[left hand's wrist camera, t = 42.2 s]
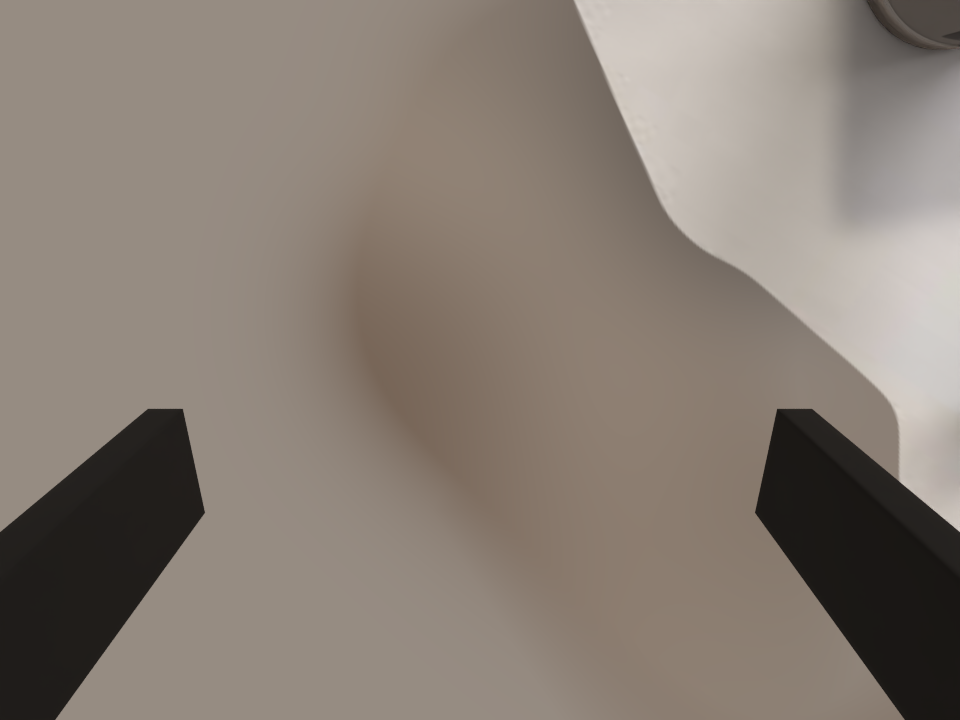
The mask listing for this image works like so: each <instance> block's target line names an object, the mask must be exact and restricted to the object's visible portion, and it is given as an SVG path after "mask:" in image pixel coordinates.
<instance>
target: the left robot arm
mask: <svg viewBox="0 0 960 720" xmlns="http://www.w3.org/2000/svg"><path fill="white" fill-rule="evenodd" d="M867 1H868V3H869V5H870V7H871V9H872V11H873V12H874V14H875V15H876V17H877V18H878V20H879V21H880V22H881V23H882V24H883V26H884V27H885V28H887V29H888V30H889V31H890V32H891V33H892V34H894V35H895V36H896V37H898V38H899V39H901V40H903V41H905V42H907V43H909V44H912V45H915V46H918V47H922V48H927V49H935V50H947V49H956V48H960V0H867ZM957 50H958V49H957ZM204 513H205V511H204V506H203V502H202V497H201V492H200V488H199V483H198V478H197V474H196V469H195V464H194V459H193V455H192V450H191V445H190V441H189V436H188V431H187V427H186V422H185V418H184V413H183V409H147V410H146V411H145V412H144V413H143V414H141V415H140V416H139V417H138V418H137V419H135V420H134V421H133V422H132V423H131V424H129V425H128V426H127V427H126V428H125V429H123V430H122V431H121V432H120V433H119V434H117V435H116V436H115V437H114V438H113V439H111V440H110V441H109V442H108V443H107V444H105V445H104V446H103V447H102V448H101V449H99V450H98V451H97V452H96V453H95V454H94V455H92V456H91V457H90V458H89V459H87V460H86V461H85V462H84V463H83V464H81V465H80V466H79V467H78V468H77V469H75V470H74V471H73V472H72V473H71V474H69V475H68V476H67V477H66V478H65V479H63V480H62V481H61V482H60V483H59V484H57V485H56V486H55V487H54V488H53V489H51V490H50V491H49V492H48V493H47V494H45V495H44V496H43V497H42V498H41V499H39V500H38V501H37V502H36V503H35V504H33V505H32V506H31V507H30V508H29V509H27V510H26V511H25V512H24V513H23V514H21V515H20V516H19V517H18V518H17V519H15V520H14V521H13V522H12V523H11V524H9V525H8V526H7V527H6V528H5V529H3V530H2V531H1V532H0V720H55V719H56V718H57V717H58V715H59V714H60V712H61V711H62V710H63V708H64V707H65V705H66V704H67V703H68V701H69V700H70V699H71V697H72V696H73V694H74V693H75V692H76V690H77V689H78V687H79V686H80V685H81V683H82V682H83V681H84V679H85V678H86V676H87V675H88V674H89V672H90V671H91V669H92V668H93V667H94V665H95V664H96V663H97V661H98V660H99V658H100V657H101V656H102V654H103V653H104V652H105V650H106V649H107V647H108V646H109V645H110V643H111V642H112V640H113V639H114V638H115V636H116V635H117V634H118V632H119V631H120V629H121V628H122V627H123V625H124V624H125V622H126V621H127V620H128V618H129V617H130V616H131V614H132V613H133V611H134V610H135V609H136V607H137V606H138V604H139V603H140V602H141V600H142V599H143V598H144V596H145V595H146V593H147V592H148V591H149V589H150V588H151V587H152V585H153V584H154V582H155V581H156V580H157V578H158V577H159V575H160V574H161V573H162V571H163V570H164V568H165V567H166V566H167V564H168V563H169V562H170V560H171V559H172V557H173V556H174V555H175V553H176V552H177V550H178V549H179V548H180V546H181V545H182V544H183V542H184V541H185V539H186V538H187V537H188V535H189V534H190V533H191V531H192V530H193V528H194V527H195V526H196V524H197V523H198V521H199V520H200V519H201V517H202V516H203V515H204ZM755 513H756V515H757V516H758V517H759V519H760V520H761V521H762V523H763V524H764V526H765V527H766V528H767V530H768V531H769V533H770V534H771V535H772V537H773V538H774V540H775V541H776V542H777V544H778V545H779V546H780V548H781V549H782V551H783V552H784V553H785V555H786V556H787V557H788V559H789V560H790V562H791V563H792V564H793V566H794V567H795V569H796V570H797V571H798V573H799V574H800V575H801V577H802V578H803V580H804V581H805V582H806V584H807V585H808V587H809V588H810V589H811V591H812V592H813V593H814V595H815V596H816V598H817V599H818V600H819V602H820V603H821V605H822V606H823V607H824V609H825V610H826V611H827V613H828V614H829V616H830V617H831V618H832V620H833V621H834V622H835V624H836V625H837V627H838V628H839V629H840V631H841V632H842V634H843V635H844V636H845V638H846V639H847V640H848V642H849V643H850V645H851V646H852V647H853V649H854V650H855V651H856V653H857V654H858V656H859V657H860V658H861V660H862V661H863V663H864V664H865V665H866V667H867V668H868V670H869V671H870V672H871V674H872V675H873V676H874V678H875V679H876V681H877V682H878V683H879V685H880V686H881V687H882V689H883V690H884V692H885V693H886V694H887V696H888V697H889V699H890V700H891V701H892V703H893V704H894V705H895V707H896V708H897V710H898V711H899V712H900V714H901V715H902V716H903V718H904V719H905V720H960V532H959V531H958V530H957V529H955V528H954V527H953V526H952V525H951V524H949V523H948V522H947V521H946V520H945V519H943V518H942V517H941V516H940V515H939V514H937V513H936V512H935V511H934V510H933V509H931V508H930V507H929V506H928V505H927V504H925V503H924V502H923V501H922V500H921V499H919V498H918V497H917V496H916V495H915V494H913V493H912V492H911V491H910V490H909V489H907V488H906V487H905V486H904V485H903V484H901V483H900V482H899V481H898V480H897V479H895V478H894V477H893V476H892V475H891V474H889V473H888V472H887V471H886V470H885V469H883V468H882V467H881V466H880V465H879V464H877V463H876V462H875V461H874V460H873V459H871V458H870V457H869V456H868V455H867V454H865V453H864V452H863V451H862V450H861V449H859V448H858V447H857V446H856V445H855V444H853V443H852V442H851V441H850V440H849V439H847V438H846V437H845V436H844V435H843V434H841V433H840V432H839V431H838V430H837V429H835V428H834V427H833V426H832V425H831V424H829V423H828V422H827V421H826V420H825V419H823V418H822V417H821V416H820V415H819V414H817V413H816V412H815V411H814V410H813V409H777V413H776V417H775V422H774V427H773V431H772V436H771V441H770V445H769V450H768V455H767V460H766V464H765V469H764V474H763V478H762V483H761V488H760V492H759V497H758V502H757V506H756V511H755Z"/></svg>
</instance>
